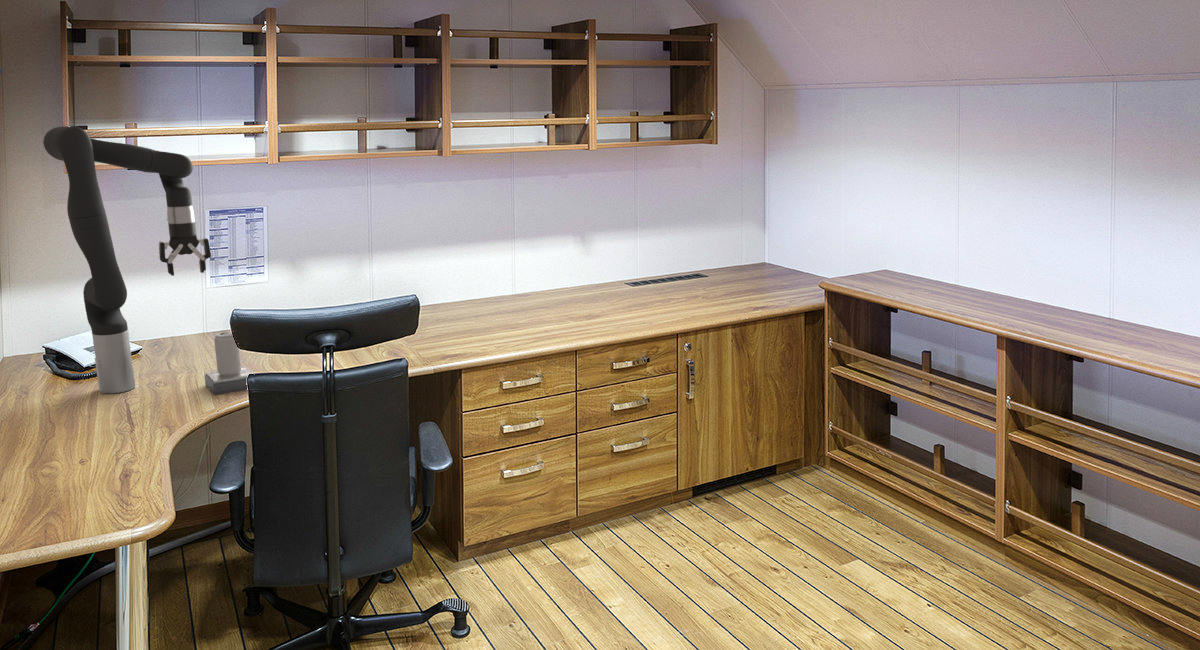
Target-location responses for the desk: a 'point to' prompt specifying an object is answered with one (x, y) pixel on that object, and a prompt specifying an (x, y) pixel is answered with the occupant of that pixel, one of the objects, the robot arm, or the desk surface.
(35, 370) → the desk surface
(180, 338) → the desk surface
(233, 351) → the beverage can
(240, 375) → the stand
